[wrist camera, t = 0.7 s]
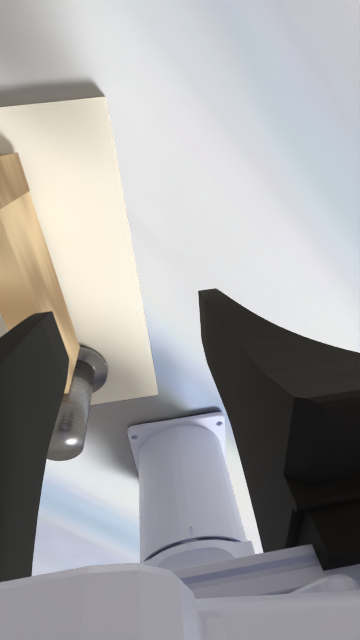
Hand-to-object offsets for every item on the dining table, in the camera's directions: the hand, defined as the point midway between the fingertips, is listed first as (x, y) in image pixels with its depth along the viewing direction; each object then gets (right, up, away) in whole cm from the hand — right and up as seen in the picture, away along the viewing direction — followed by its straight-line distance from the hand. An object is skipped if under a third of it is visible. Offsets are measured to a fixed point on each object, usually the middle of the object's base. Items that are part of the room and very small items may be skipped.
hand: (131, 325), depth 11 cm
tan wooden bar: (-6, +3, +6) cm, 9 cm away
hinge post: (-5, -3, +11) cm, 12 cm away
